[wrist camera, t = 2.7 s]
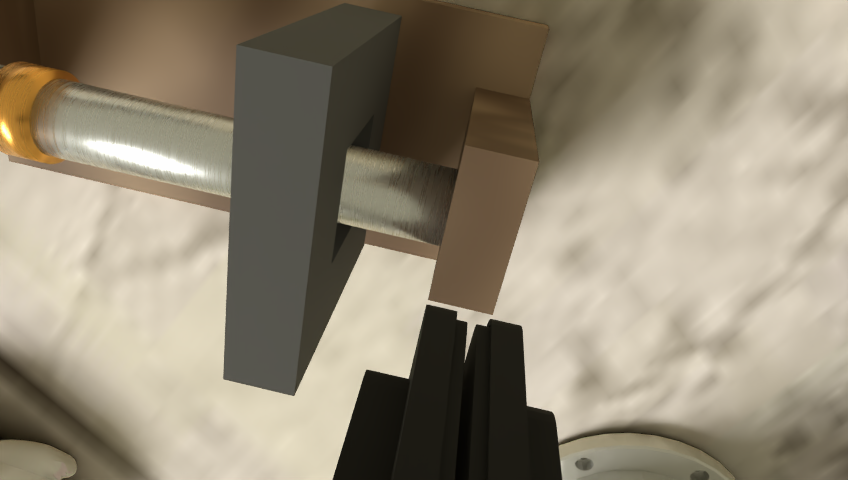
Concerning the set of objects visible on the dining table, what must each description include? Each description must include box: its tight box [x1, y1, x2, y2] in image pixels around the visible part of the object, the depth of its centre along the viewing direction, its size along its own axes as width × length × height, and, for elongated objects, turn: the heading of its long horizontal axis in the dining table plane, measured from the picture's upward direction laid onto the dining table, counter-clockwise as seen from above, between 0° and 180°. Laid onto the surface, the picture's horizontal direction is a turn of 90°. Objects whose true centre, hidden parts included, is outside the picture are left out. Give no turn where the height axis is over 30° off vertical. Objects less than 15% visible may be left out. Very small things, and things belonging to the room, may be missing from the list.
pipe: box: [0, 61, 458, 246], centre depth 18 cm, size 18×3×3 cm, turn 79°
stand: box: [0, 0, 549, 315], centre depth 20 cm, size 21×10×8 cm, turn 79°
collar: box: [223, 3, 402, 396], centre depth 18 cm, size 2×9×9 cm, turn 169°
